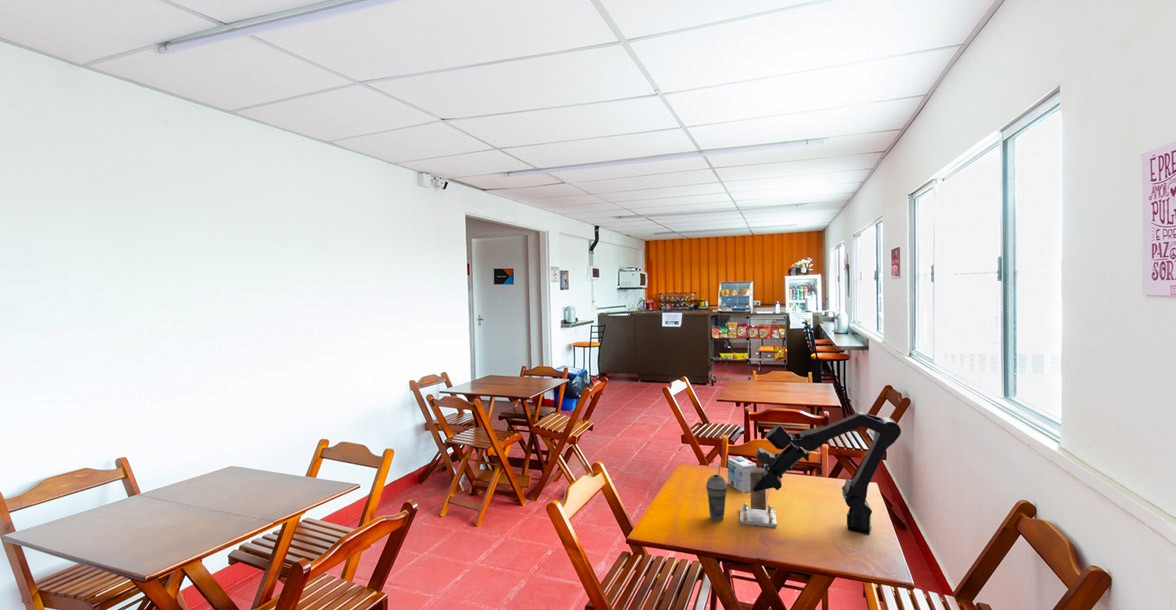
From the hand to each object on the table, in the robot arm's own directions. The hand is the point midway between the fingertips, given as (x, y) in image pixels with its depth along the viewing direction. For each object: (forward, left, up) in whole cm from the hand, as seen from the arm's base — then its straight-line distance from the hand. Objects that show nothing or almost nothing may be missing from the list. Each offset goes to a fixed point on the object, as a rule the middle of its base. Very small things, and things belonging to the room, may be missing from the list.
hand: (753, 487), depth 188 cm
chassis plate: (-1, 0, -11) cm, 11 cm away
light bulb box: (+13, -25, -11) cm, 31 cm away
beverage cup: (+11, +8, -11) cm, 17 cm away
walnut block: (-1, -1, -7) cm, 7 cm away
